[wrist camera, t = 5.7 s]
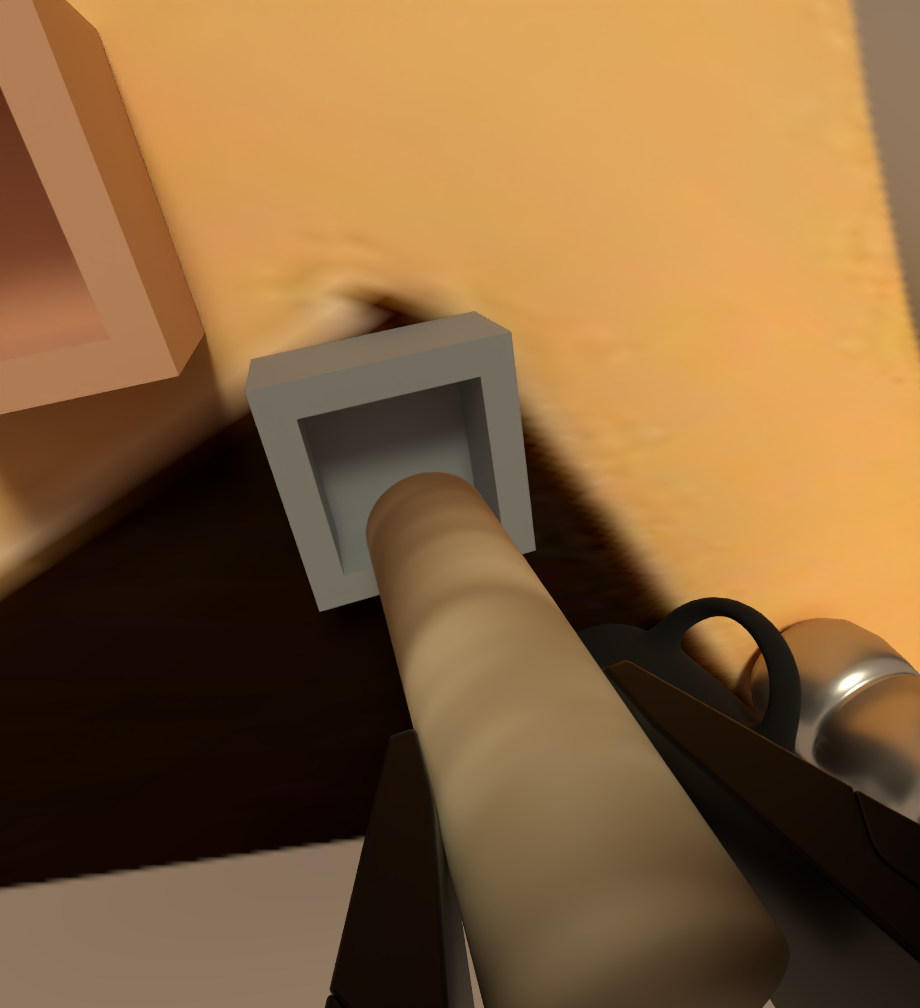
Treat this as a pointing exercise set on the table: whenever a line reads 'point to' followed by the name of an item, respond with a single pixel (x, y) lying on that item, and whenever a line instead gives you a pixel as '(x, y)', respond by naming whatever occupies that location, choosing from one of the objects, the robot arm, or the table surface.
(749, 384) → the table surface
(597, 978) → the dowel
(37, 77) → the square box
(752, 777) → the robot arm
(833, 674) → the plastic bottle
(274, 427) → the socket block
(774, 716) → the mug
